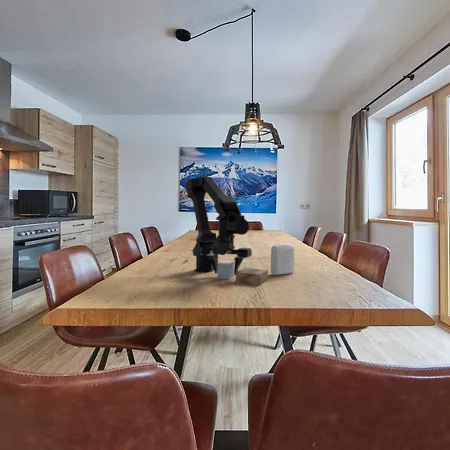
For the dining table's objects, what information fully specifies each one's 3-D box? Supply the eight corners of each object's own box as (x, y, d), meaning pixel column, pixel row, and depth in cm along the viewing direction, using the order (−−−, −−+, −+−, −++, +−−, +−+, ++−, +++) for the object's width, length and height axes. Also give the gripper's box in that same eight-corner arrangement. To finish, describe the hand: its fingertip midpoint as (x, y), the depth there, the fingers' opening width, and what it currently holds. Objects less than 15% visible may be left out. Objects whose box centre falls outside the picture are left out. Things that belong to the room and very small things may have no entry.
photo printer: (287, 271, 140) (288, 241, 139) (295, 273, 137) (296, 242, 136) (268, 274, 134) (269, 243, 134) (276, 276, 131) (276, 244, 130)
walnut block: (235, 283, 119) (235, 272, 119) (244, 278, 127) (245, 268, 127) (260, 286, 116) (260, 274, 115) (267, 281, 124) (268, 270, 123)
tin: (217, 278, 126) (217, 262, 126) (222, 275, 130) (222, 260, 130) (229, 279, 124) (229, 263, 124) (233, 276, 129) (234, 261, 128)
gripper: (193, 233, 122) (193, 276, 123) (242, 235, 115) (242, 280, 116) (206, 231, 133) (206, 270, 134) (252, 233, 126) (251, 274, 127)
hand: (225, 274), depth 127 cm, fingers open, 7 cm apart
